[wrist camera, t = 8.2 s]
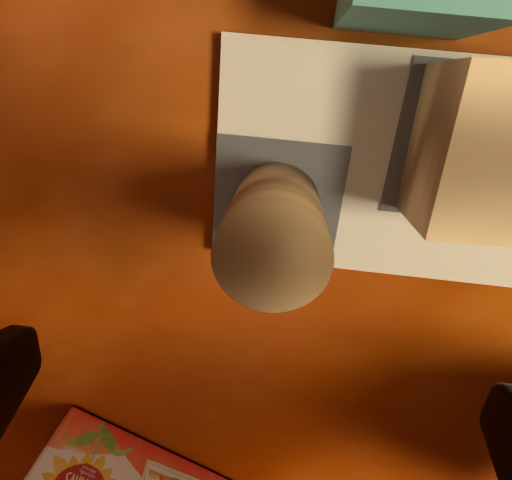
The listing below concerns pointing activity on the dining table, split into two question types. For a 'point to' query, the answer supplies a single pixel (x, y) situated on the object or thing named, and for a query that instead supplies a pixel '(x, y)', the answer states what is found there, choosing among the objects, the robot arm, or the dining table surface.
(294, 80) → the cream grey flat board
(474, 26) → the teal cube
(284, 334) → the dining table surface
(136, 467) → the cracker box
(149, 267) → the dining table surface
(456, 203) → the maple base block
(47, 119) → the dining table surface
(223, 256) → the oak dowel
